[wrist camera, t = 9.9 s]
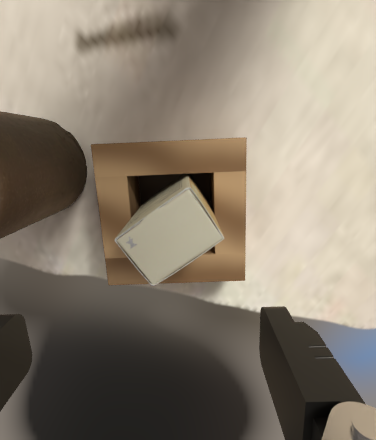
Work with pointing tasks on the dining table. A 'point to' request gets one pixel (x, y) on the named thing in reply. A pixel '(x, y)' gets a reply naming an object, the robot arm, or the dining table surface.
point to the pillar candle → (36, 170)
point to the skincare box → (170, 230)
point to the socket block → (157, 180)
